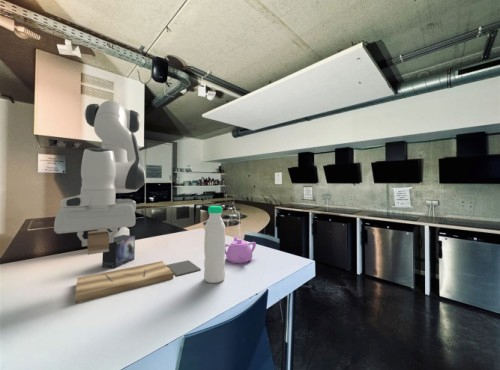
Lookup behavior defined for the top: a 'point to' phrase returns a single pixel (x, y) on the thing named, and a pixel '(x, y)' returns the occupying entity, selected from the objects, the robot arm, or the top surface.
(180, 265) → the rubber mat
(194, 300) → the top surface
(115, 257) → the small box
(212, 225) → the water bottle
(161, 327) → the top surface
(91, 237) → the block
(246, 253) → the teapot
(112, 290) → the oak board
